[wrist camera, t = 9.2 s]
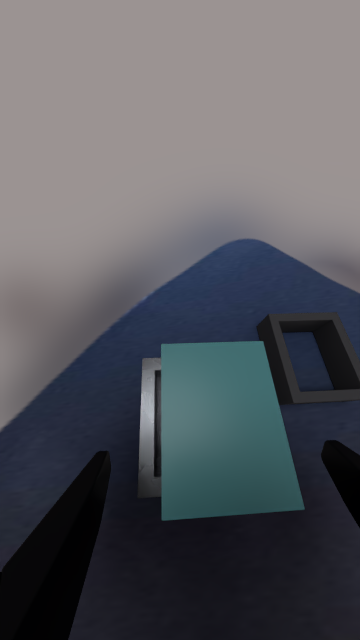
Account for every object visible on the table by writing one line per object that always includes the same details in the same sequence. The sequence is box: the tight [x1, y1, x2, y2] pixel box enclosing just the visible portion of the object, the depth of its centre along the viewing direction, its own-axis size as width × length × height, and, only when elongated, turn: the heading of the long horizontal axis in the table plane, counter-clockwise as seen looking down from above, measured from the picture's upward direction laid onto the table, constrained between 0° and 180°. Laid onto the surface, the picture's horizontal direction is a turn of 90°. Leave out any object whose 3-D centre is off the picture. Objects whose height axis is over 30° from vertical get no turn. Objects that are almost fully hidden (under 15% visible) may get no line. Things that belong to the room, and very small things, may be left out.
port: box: [138, 358, 162, 498], centre depth 16 cm, size 9×8×4 cm
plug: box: [161, 341, 305, 521], centre depth 12 cm, size 5×4×12 cm
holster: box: [257, 312, 360, 405], centre depth 19 cm, size 8×7×3 cm
